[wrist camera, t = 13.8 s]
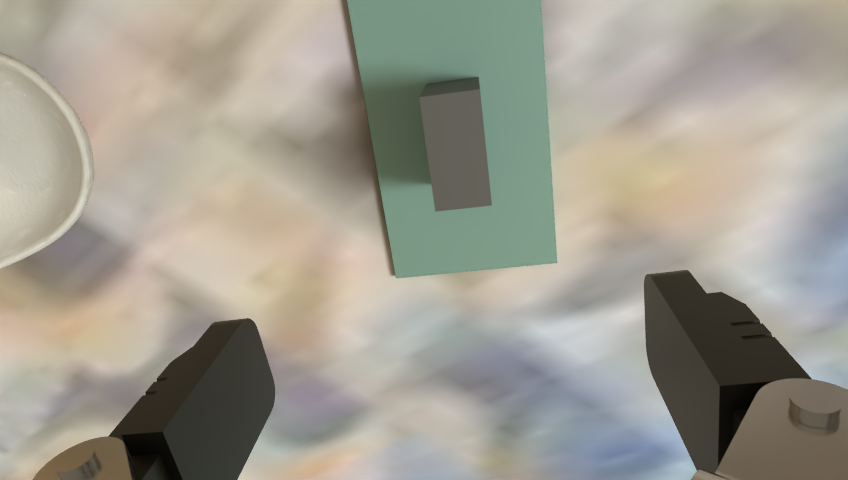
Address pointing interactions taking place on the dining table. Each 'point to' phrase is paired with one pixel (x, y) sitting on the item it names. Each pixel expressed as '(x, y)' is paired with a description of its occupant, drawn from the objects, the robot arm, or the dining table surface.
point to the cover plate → (509, 128)
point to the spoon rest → (38, 163)
